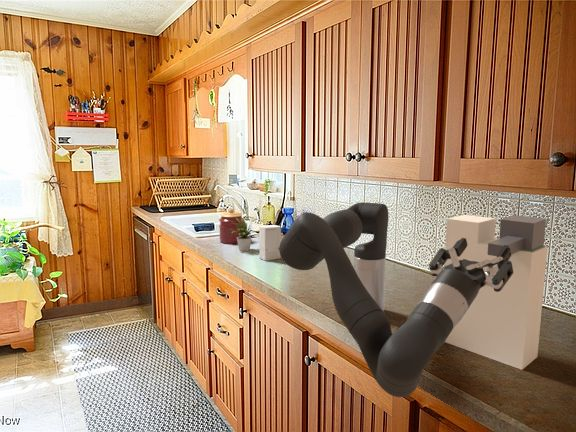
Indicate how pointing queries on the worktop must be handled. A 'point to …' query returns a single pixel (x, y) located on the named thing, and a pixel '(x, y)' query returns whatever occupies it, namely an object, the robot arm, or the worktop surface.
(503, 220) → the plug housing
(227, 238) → the canister
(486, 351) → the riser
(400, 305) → the worktop surface
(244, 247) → the house plant
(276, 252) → the skincare box
